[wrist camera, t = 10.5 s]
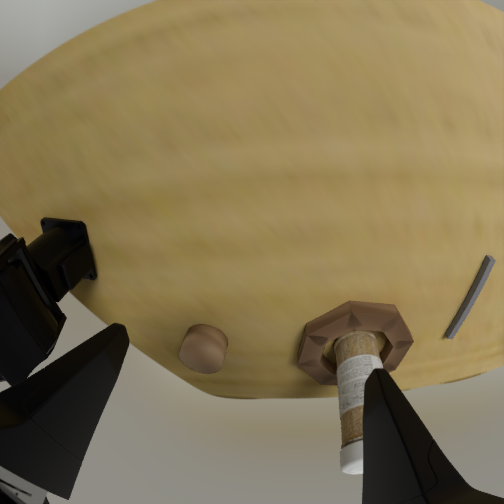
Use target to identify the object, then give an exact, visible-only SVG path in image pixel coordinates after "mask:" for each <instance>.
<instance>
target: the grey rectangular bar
mask: <svg viewBox="0 0 504 504" xmlns="http://www.w3.org/2000/svg"><path fill="white" fill-rule="evenodd" d="M494 263H495V260H494V258H493V257H492V256H488V255H486V257H485V260H484V262H483V264H482V266H481V269H480V271H479V273H478V275H477V277H476V279H475V281H474V283H473V285H472V287H471V289H470V291H469V293H468V295H467V297H466V299H465V301H464V303H463V304H462V306H461V308H460V310H459V312H458V313H457V315H456V317H455V318H454V320H453V322H452V324H451V325H450V327H449V328H448V330H447V332H446V333H445V334H446V336H447V339H453V338H454V336H455V334H456V333H457V331H458V330H459V328H460V327H461V325H462V323H463V322H464V320H465V318H466V317H467V315H468V313H469V312H470V310H471V308H472V306H473V305H474V303H475V301H476V299H477V297H478V295H479V293H480V292H481V290H482V288H483V286H484V284H485V282H486V280H487V278H488V276H489V274H490V271H491V269H492V267H493V265H494Z"/></svg>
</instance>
